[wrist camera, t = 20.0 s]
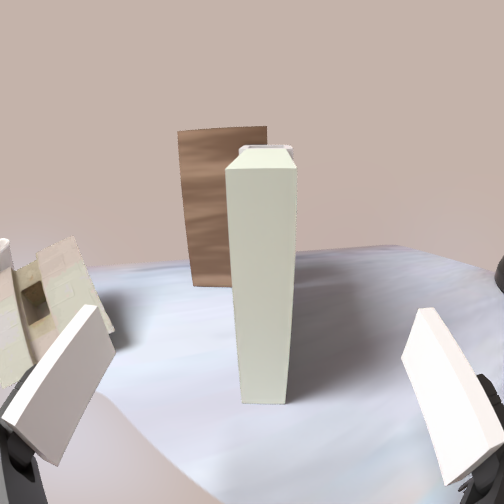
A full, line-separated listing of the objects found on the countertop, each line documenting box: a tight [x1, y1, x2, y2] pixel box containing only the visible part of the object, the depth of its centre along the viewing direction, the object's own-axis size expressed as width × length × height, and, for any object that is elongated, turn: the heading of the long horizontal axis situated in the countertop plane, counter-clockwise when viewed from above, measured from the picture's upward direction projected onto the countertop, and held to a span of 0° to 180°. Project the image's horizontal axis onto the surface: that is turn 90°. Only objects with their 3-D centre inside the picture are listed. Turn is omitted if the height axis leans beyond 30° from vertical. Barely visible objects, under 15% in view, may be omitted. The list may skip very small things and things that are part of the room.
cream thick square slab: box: [225, 145, 297, 404], centre depth 25 cm, size 17×5×18 cm, turn 176°
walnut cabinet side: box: [178, 126, 267, 287], centre depth 32 cm, size 6×11×20 cm, turn 86°
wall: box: [0, 236, 115, 389], centre depth 28 cm, size 16×9×15 cm
